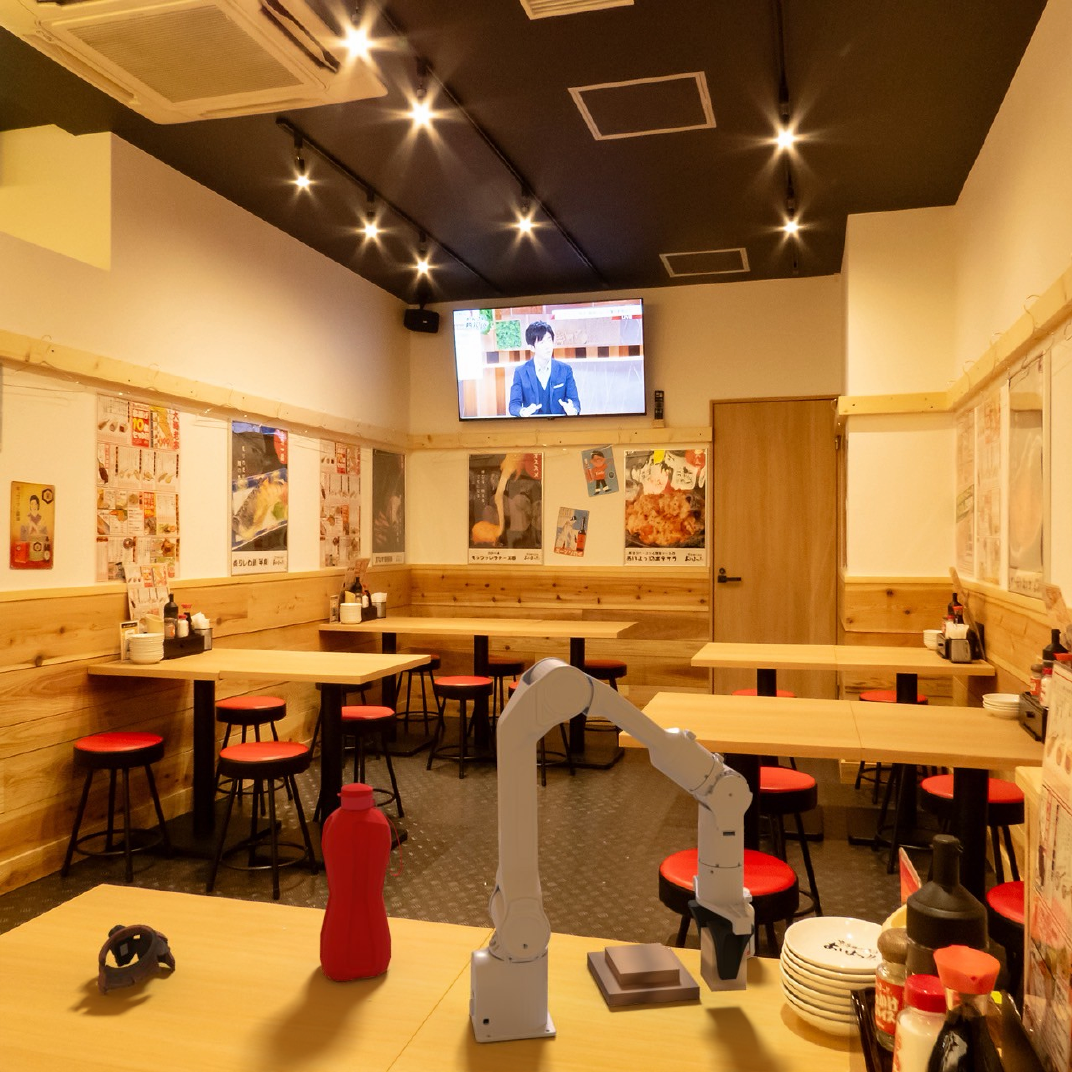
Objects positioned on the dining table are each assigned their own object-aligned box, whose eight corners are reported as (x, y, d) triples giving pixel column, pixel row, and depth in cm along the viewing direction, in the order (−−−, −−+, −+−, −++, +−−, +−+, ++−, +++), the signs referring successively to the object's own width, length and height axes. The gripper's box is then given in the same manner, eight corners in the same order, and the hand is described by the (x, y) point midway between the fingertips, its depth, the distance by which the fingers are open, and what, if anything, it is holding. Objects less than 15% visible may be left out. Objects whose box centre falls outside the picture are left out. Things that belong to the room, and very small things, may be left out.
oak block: (711, 991, 110) (712, 943, 110) (700, 974, 114) (701, 927, 114) (746, 990, 110) (747, 941, 110) (733, 972, 115) (734, 926, 115)
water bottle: (407, 975, 119) (409, 789, 120) (324, 988, 115) (327, 796, 116) (394, 947, 128) (396, 773, 129) (316, 958, 124) (319, 779, 125)
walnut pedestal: (609, 1006, 111) (609, 982, 111) (587, 963, 123) (587, 941, 123) (699, 998, 114) (699, 975, 114) (669, 957, 125) (669, 935, 125)
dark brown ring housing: (194, 977, 120) (178, 937, 116) (130, 1033, 113) (111, 993, 109) (146, 933, 126) (129, 894, 122) (83, 983, 120) (63, 944, 116)
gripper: (775, 879, 106) (774, 993, 106) (727, 841, 120) (727, 942, 120) (719, 882, 105) (718, 998, 104) (678, 843, 119) (677, 945, 119)
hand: (719, 968), depth 112 cm, fingers closed on oak block, 5 cm apart
